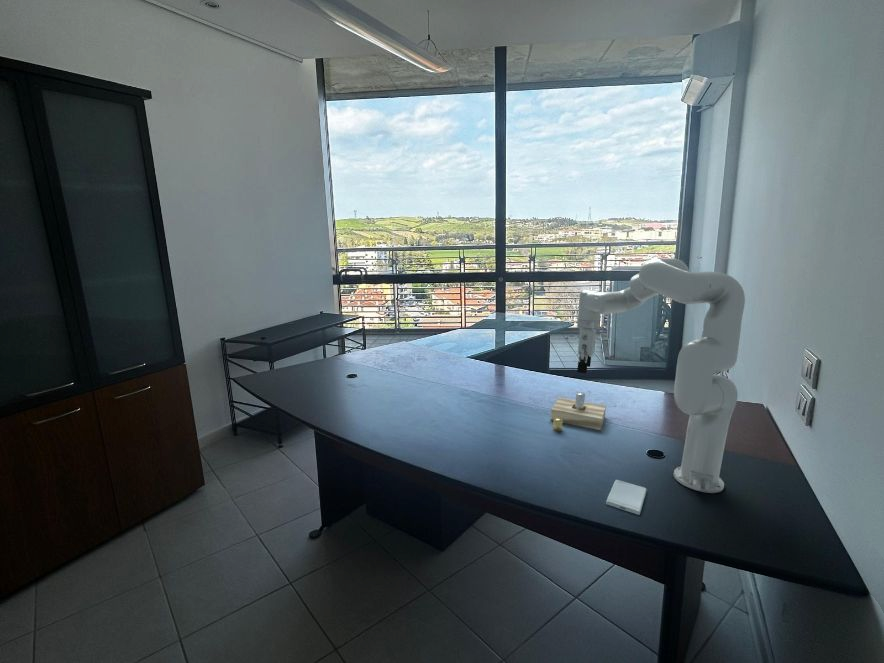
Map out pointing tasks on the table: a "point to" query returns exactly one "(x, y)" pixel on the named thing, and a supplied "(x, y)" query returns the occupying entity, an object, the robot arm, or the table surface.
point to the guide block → (579, 413)
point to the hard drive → (627, 497)
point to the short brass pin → (557, 424)
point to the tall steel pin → (579, 401)
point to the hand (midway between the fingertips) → (583, 369)
